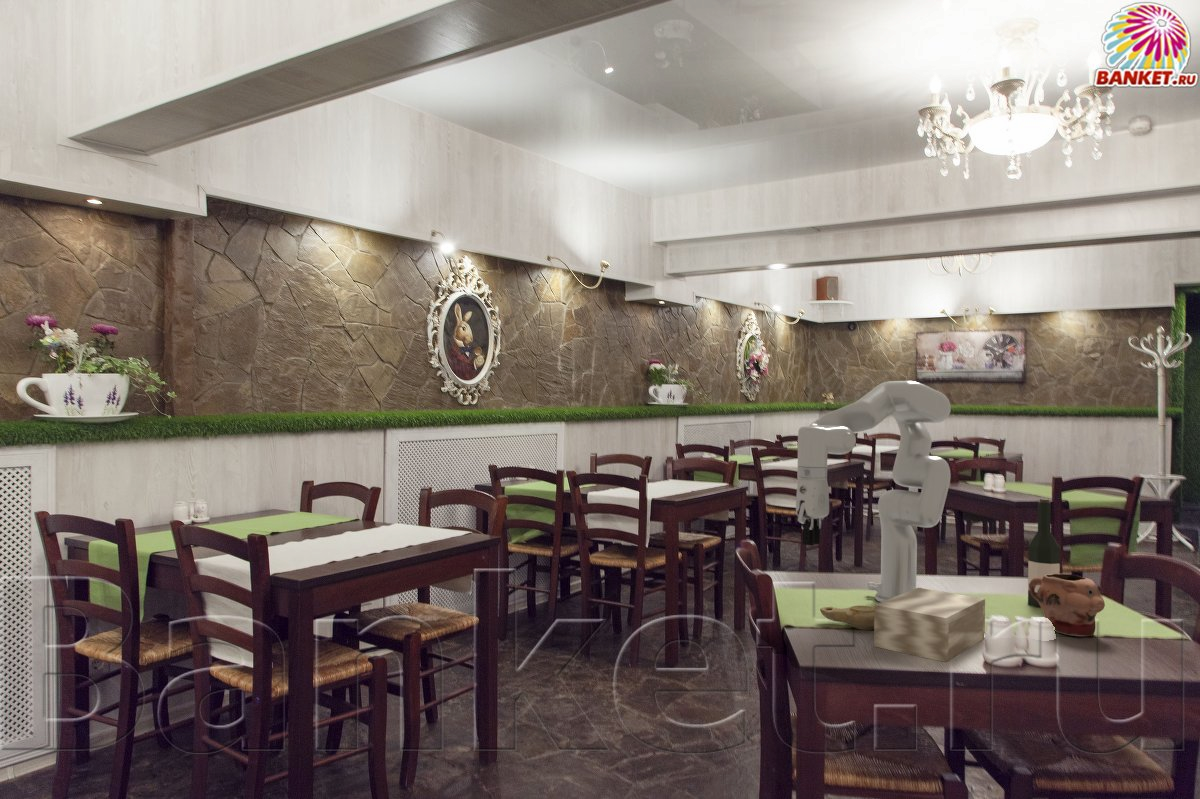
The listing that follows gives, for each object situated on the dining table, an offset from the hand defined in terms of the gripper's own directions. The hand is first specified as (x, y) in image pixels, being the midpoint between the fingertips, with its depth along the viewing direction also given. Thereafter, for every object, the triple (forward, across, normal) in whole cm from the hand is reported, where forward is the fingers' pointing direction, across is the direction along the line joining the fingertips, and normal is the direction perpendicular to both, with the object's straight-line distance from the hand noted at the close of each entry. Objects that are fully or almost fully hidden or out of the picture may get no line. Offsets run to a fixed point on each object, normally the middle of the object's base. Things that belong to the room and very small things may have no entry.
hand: (811, 543), depth 210 cm
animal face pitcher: (+19, +35, -51) cm, 65 cm away
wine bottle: (+19, +61, -40) cm, 75 cm away
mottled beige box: (+19, 0, -31) cm, 36 cm away
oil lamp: (+19, 0, -12) cm, 23 cm away
